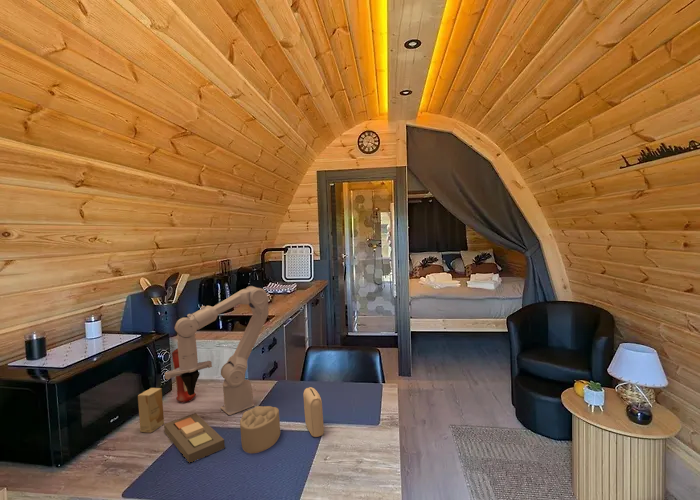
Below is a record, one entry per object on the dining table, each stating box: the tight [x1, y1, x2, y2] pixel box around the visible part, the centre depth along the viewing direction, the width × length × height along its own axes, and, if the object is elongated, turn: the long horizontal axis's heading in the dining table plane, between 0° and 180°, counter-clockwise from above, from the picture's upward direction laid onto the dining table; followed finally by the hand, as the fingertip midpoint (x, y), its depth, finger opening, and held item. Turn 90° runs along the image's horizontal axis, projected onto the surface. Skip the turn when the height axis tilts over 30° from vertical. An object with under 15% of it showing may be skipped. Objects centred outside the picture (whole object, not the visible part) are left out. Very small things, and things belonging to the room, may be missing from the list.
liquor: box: [171, 332, 197, 403], centre depth 142 cm, size 7×7×28 cm
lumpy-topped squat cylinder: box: [239, 405, 281, 454], centre depth 110 cm, size 10×13×9 cm
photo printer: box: [302, 386, 325, 438], centre depth 114 cm, size 10×4×12 cm, turn 20°
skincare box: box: [137, 387, 165, 433], centre depth 122 cm, size 6×4×12 cm
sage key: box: [189, 433, 212, 448], centre depth 108 cm, size 5×5×2 cm
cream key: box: [181, 422, 204, 439], centre depth 113 cm, size 5×5×2 cm
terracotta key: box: [174, 417, 196, 430], centre depth 118 cm, size 5×5×2 cm
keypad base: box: [163, 412, 226, 464], centre depth 113 cm, size 10×24×2 cm, turn 41°
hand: (191, 393), depth 124 cm, fingers closed
